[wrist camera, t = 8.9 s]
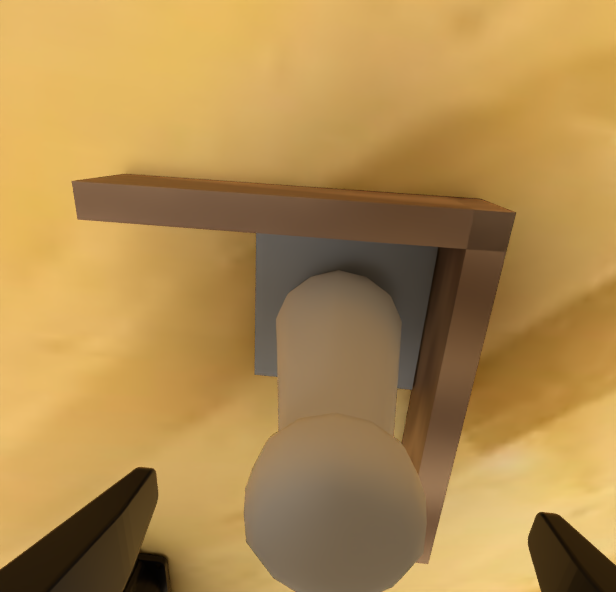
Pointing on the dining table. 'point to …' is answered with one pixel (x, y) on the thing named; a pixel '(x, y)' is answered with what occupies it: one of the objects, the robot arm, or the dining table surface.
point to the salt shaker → (336, 446)
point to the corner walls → (371, 228)
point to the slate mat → (349, 258)
